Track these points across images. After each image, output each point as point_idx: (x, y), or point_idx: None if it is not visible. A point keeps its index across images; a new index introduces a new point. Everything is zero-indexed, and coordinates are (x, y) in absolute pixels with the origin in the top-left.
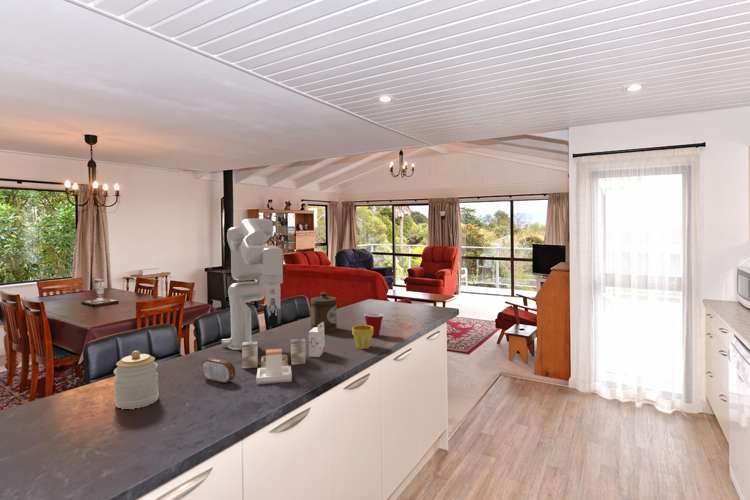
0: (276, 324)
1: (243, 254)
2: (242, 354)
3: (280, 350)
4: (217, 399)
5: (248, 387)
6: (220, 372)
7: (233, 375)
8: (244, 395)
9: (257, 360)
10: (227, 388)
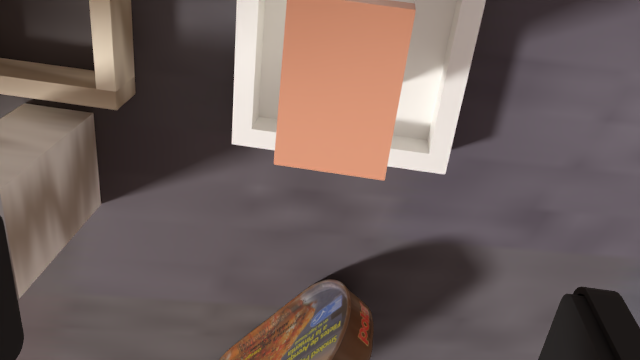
0: (618, 323)
1: None
2: (52, 259)
3: (360, 19)
4: None
5: (468, 201)
6: None
7: (355, 300)
8: (591, 233)
9: (44, 125)
10: (428, 301)
